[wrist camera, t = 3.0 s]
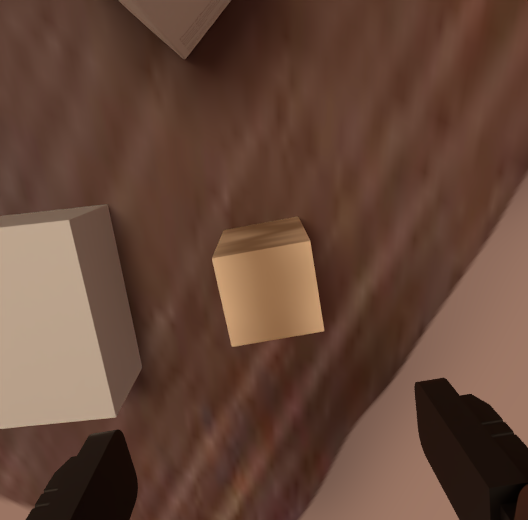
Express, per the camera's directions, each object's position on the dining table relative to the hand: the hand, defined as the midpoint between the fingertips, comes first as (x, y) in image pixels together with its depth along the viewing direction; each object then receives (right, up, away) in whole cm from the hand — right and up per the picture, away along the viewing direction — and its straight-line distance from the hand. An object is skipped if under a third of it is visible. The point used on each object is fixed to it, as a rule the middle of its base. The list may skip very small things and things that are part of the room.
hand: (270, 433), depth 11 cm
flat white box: (-16, +2, +18) cm, 24 cm away
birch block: (0, +5, +17) cm, 18 cm away
